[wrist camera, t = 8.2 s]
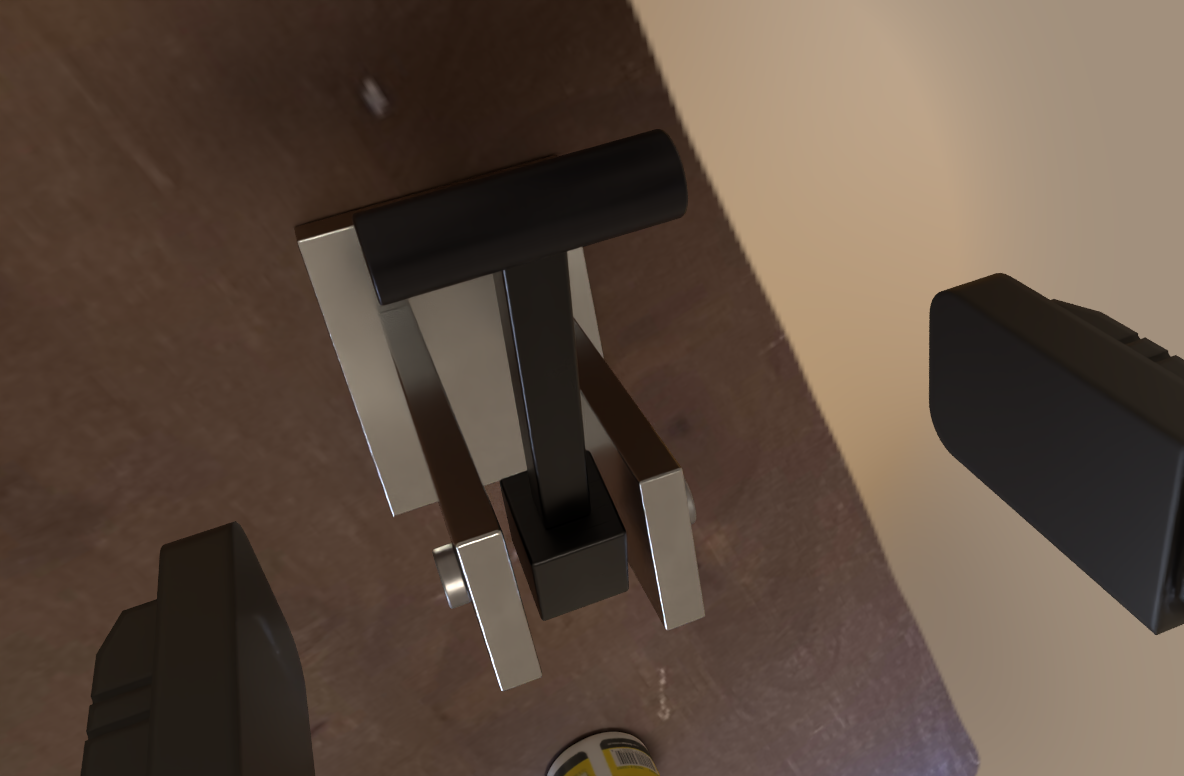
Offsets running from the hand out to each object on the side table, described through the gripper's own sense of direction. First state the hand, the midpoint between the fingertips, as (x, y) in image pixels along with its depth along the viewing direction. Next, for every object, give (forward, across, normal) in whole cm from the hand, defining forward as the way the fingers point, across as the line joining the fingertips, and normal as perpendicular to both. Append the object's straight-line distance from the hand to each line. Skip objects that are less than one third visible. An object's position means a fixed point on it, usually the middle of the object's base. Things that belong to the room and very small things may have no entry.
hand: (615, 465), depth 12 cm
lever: (+9, -1, +4) cm, 10 cm away
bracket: (+20, 0, +9) cm, 22 cm away
